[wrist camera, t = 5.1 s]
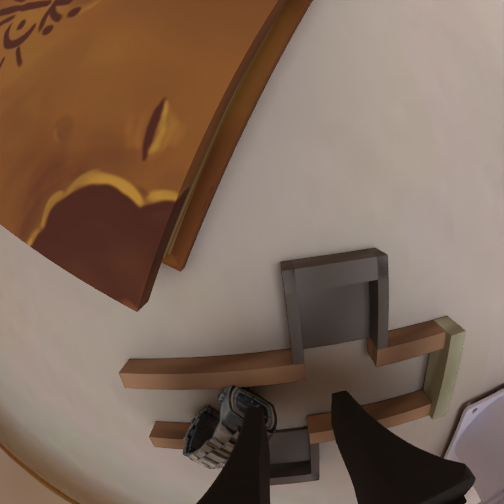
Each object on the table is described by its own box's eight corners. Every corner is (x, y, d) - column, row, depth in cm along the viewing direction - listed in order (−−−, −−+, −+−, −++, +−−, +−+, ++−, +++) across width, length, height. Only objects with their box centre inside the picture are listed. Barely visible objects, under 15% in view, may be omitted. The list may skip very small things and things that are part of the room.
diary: (331, -27, 10) (349, -90, 4) (187, 265, 14) (138, 312, 8) (61, -43, 9) (29, -70, 3) (-37, 146, 13) (-86, 146, 7)
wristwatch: (277, 386, 15) (278, 447, 10) (216, 426, 16) (201, 483, 11) (239, 352, 15) (227, 409, 10) (180, 397, 16) (154, 451, 11)
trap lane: (450, 235, 12) (473, 243, 10) (421, 438, 15) (429, 455, 13) (105, 284, 14) (85, 297, 12) (180, 468, 17) (175, 487, 15)
